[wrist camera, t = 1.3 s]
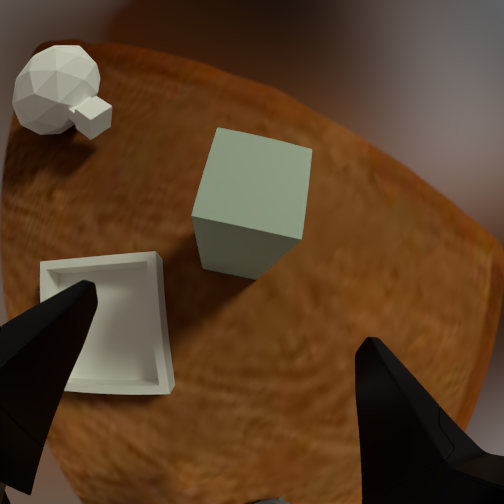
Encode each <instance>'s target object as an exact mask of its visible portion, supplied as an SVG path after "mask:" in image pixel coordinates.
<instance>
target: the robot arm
mask: <svg viewBox="0 0 504 504" xmlns="http://www.w3.org/2000/svg"><path fill="white" fill-rule="evenodd" d="M97 307H98V297H97V291H96V285H95V283H94V282H91V281H88V280H81V281H79V282H77V283H76V284H74V285H72V286H70V287H68V288H66V289H64V290H63V291H61V292H59V293H57V294H55V295H54V296H52V297H50V298H48V299H46V300H45V301H43V302H41V303H39V304H38V305H36V306H34V307H32V308H31V309H29V310H27V311H25V312H24V313H22V314H20V315H18V316H17V317H15V318H13V319H12V320H10V321H8V322H7V323H5V324H3V325H2V327H0V504H10V501H9V499H8V497H7V495H6V492H5V487H6V485H7V486H9V487H12V488H14V489H16V490H18V491H21V492H23V493H25V494H28V495H31V492H32V488H33V484H34V479H35V476H36V472H37V468H38V465H39V461H40V457H41V454H42V451H43V447H44V444H45V441H46V438H47V435H48V432H49V429H50V426H51V423H52V421H53V418H54V415H55V412H56V410H57V407H58V405H59V402H60V399H61V397H62V394H63V392H64V389H65V387H66V385H67V382H68V380H69V377H70V375H71V373H72V370H73V368H74V366H75V364H76V361H77V359H78V357H79V355H80V353H81V350H82V348H83V346H84V343H85V340H86V338H87V335H88V332H89V329H90V326H91V323H92V321H93V318H94V315H95V313H96V310H97ZM355 392H356V405H357V415H358V426H359V439H360V453H361V473H362V498H363V499H362V504H504V456H499V455H493V454H489V453H487V452H485V451H483V450H482V449H481V448H480V447H479V446H477V445H476V444H475V443H474V441H473V440H472V439H471V438H470V437H468V435H466V433H464V432H463V431H462V430H461V428H460V427H459V426H458V425H457V424H456V423H455V422H454V421H453V420H452V419H451V418H450V417H449V416H448V415H447V413H446V412H445V411H444V410H443V409H442V408H441V407H440V406H439V404H438V403H437V402H436V401H435V400H434V399H433V397H432V396H431V395H430V394H429V393H428V392H427V391H426V389H425V388H424V387H423V386H422V385H421V384H420V383H419V382H418V380H417V379H416V378H415V377H414V376H413V375H412V374H411V373H410V372H409V370H408V369H407V368H406V367H405V366H404V365H403V364H402V363H401V362H400V361H399V359H398V358H397V357H396V356H395V355H394V354H393V353H392V352H391V351H390V350H389V349H388V347H387V346H386V345H385V344H384V343H383V342H382V341H381V340H380V339H379V338H377V337H367V338H366V339H365V340H364V342H363V343H362V345H361V346H360V347H359V349H358V350H357V352H356V354H355Z"/></svg>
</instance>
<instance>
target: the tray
mask: <svg viewBox="0 0 504 504" xmlns="http://www.w3.org/2000/svg"><path fill="white" fill-rule="evenodd" d="M81 280H88V281H91V282H94V283H95V285H96V291H97V297H98V307H97V310H96V313H95V315H94V318H93V321H92V323H91V326H90V329H89V332H88V335H87V338H86V340H85V343H84V346H83V348H82V350H81V353H80V355H79V357H78V359H77V361H76V364H75V366H74V368H73V370H72V373H71V375H70V377H69V380H68V382H67V385H66V387H65V389H64V391H72V392H84V393H100V394H129V395H151V394H170V393H171V391H172V390H173V388H174V386H175V381H174V374H173V367H172V360H171V352H170V344H169V335H168V325H167V315H166V304H165V292H164V277H163V260H162V258H161V257H160V256H159V255H158V253H157V252H156V251H152V252H141V253H129V254H118V255H107V256H96V257H85V258H74V259H64V260H53V261H43V262H40V303H41V302H43V301H45V300H46V299H48V298H50V297H52V296H54V295H55V294H57V293H59V292H61V291H63V290H64V289H66V288H68V287H70V286H72V285H74V284H76V283H77V282H79V281H81Z"/></svg>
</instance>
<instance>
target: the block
mask: <svg viewBox="0 0 504 504" xmlns="http://www.w3.org/2000/svg"><path fill="white" fill-rule="evenodd" d="M311 157H312V149H309V148H305V147H301V146H298V145H294V144H290V143H286V142H282V141H278V140H274V139H270V138H266V137H261V136H257V135H253V134H248V133H243V132H238V131H233V130H228V129H223V128H217V131H216V134H215V137H214V140H213V143H212V146H211V150H210V153H209V156H208V159H207V163H206V166H205V169H204V173H203V176H202V180H201V183H200V186H199V190H198V194H197V197H196V201H195V204H194V208H193V212H192V221H193V226H194V231H195V236H196V241H197V246H198V250H199V255H200V259H201V264H202V268H203V269H206V270H211V271H216V272H220V273H225V274H230V275H235V276H240V277H245V278H250V279H254V280H257V279H258V278H260V277H261V276H262V275H263V274H264V273H265V272H266V271H267V270H269V269H270V268H271V267H272V266H273V265H274V264H275V263H276V262H277V261H279V260H280V259H281V258H282V257H283V256H284V255H285V254H286V253H287V252H289V251H290V250H291V249H292V248H293V247H294V246H295V245H296V244H297V243H299V242H300V241H301V240H302V234H303V226H304V218H305V210H306V202H307V194H308V185H309V176H310V166H311Z"/></svg>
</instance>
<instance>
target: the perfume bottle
mask: <svg viewBox="0 0 504 504" xmlns="http://www.w3.org/2000/svg"><path fill="white" fill-rule="evenodd" d="M99 82H100V75H99V71H98V68H97V64H96V63H95V62H94V61H93V59H92V58H91V57H90V56H89V55H88V54H87V53H86V52H85V51H84V50H83V49H82V48H81V47H80V46H52V47H50V48H48V49H46V50H44V51H42V52H40V53H38V54H36V55H34V56H33V57H32V58H31V60H30V61H29V62H28V63H27V65H26V66H25V67H24V69H23V70H22V71H21V73H20V74H19V75H18V77H17V78H16V82H15V88H14V95H13V102H12V105H13V107H14V110H15V112H16V115H17V117H18V120H19V122H20V124H21V125H22V126H24V127H26V128H28V129H30V130H32V131H34V132H36V133H38V134H40V135H47V134H61V133H63V132H64V131H66V130H67V129H69V128H70V127H72V126H73V125H75V126H76V129H77V130H79V131H80V132H81V133H82V134H84V135H85V136H86V137H88V138H89V139H90V140H92V139H93V138H95V137H96V136H98V135H99V134H100V133H102V132H103V131H105V130H106V129H108V128H109V127H111V116H112V106H111V105H109V104H108V103H106V102H105V101H103V100H102V99H100V98H99V97H97V96H96V95H97V93H98V89H99Z"/></svg>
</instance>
